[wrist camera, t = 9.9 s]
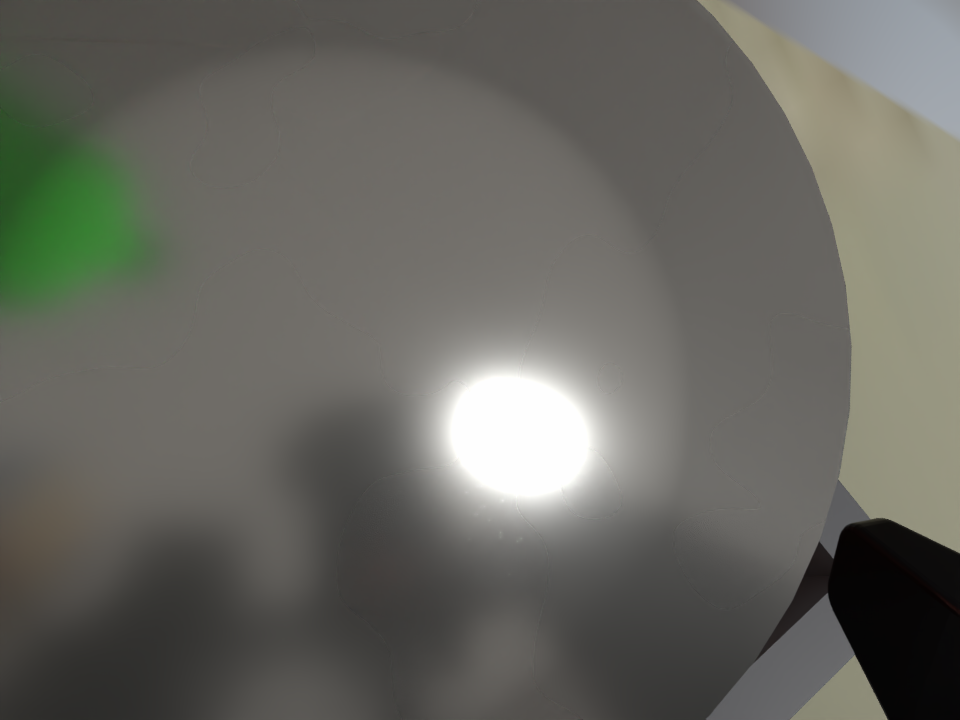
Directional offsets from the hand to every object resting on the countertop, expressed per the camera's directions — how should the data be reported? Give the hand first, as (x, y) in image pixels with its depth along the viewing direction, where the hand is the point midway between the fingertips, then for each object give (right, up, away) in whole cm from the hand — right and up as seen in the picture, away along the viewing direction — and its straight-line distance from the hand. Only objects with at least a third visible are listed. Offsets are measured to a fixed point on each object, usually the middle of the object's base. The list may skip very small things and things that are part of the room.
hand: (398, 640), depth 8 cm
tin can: (-2, 0, +10) cm, 10 cm away
